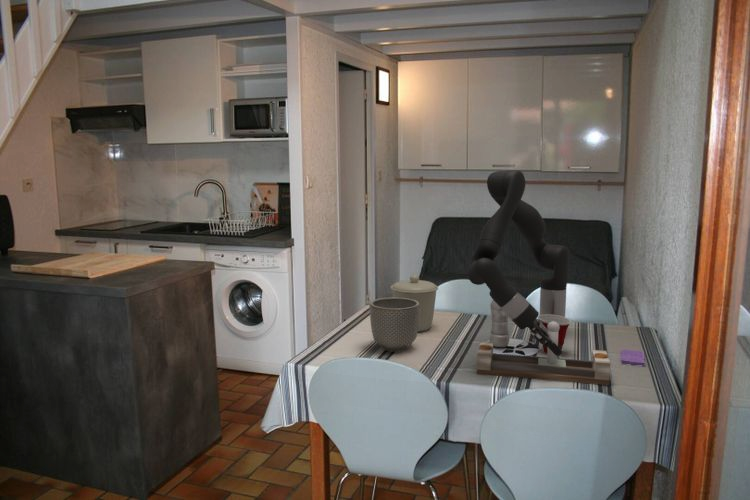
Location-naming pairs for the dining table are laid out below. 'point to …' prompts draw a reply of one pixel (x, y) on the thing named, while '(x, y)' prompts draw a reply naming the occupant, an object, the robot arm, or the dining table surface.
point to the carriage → (551, 357)
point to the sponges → (632, 357)
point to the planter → (394, 322)
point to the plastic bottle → (499, 326)
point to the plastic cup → (562, 323)
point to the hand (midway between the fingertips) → (559, 351)
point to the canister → (418, 298)
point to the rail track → (543, 367)
